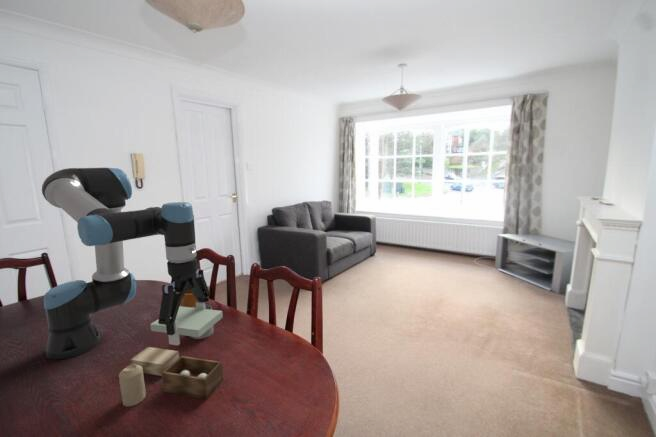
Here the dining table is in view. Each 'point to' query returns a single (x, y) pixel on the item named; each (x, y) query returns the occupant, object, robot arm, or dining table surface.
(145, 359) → the block
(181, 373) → the ball
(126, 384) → the candle
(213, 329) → the cup
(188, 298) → the mug
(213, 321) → the lid
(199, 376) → the ball
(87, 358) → the dining table surface
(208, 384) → the walnut box
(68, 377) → the dining table surface
